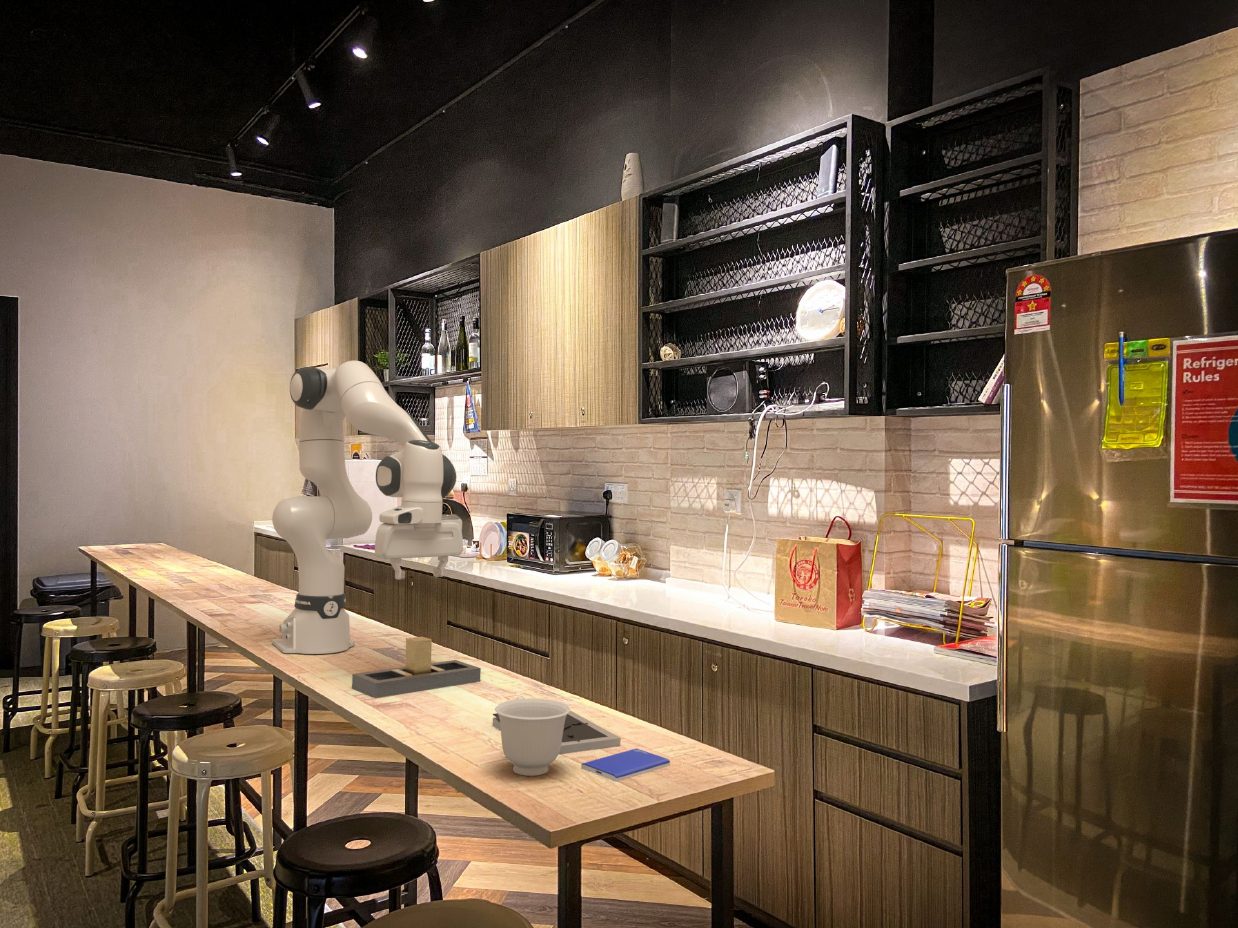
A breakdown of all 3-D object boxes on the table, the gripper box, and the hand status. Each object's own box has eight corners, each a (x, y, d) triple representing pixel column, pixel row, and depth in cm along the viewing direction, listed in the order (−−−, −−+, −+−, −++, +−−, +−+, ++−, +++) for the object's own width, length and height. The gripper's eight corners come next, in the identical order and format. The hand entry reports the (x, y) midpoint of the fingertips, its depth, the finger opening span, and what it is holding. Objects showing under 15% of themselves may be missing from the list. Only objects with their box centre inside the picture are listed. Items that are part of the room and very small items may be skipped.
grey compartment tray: (351, 687, 199) (352, 672, 199) (454, 672, 216) (455, 658, 216) (375, 697, 191) (375, 682, 191) (480, 681, 208) (480, 666, 208)
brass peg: (404, 684, 204) (406, 638, 204) (420, 681, 206) (422, 636, 206) (414, 687, 201) (415, 641, 201) (430, 685, 203) (431, 639, 203)
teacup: (550, 750, 160) (552, 692, 160) (578, 778, 146) (580, 714, 146) (481, 756, 155) (483, 696, 155) (503, 786, 141) (505, 720, 141)
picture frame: (492, 728, 174) (538, 760, 156) (492, 713, 174) (538, 743, 156) (568, 719, 182) (620, 749, 164) (568, 705, 182) (620, 733, 164)
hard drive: (634, 747, 160) (581, 761, 151) (670, 759, 154) (616, 775, 145) (634, 756, 160) (580, 771, 151) (669, 768, 154) (616, 785, 145)
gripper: (454, 513, 213) (452, 573, 213) (372, 514, 199) (370, 578, 200) (469, 515, 209) (467, 576, 209) (386, 516, 195) (384, 582, 195)
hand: (419, 577), depth 204 cm, fingers open, 8 cm apart
